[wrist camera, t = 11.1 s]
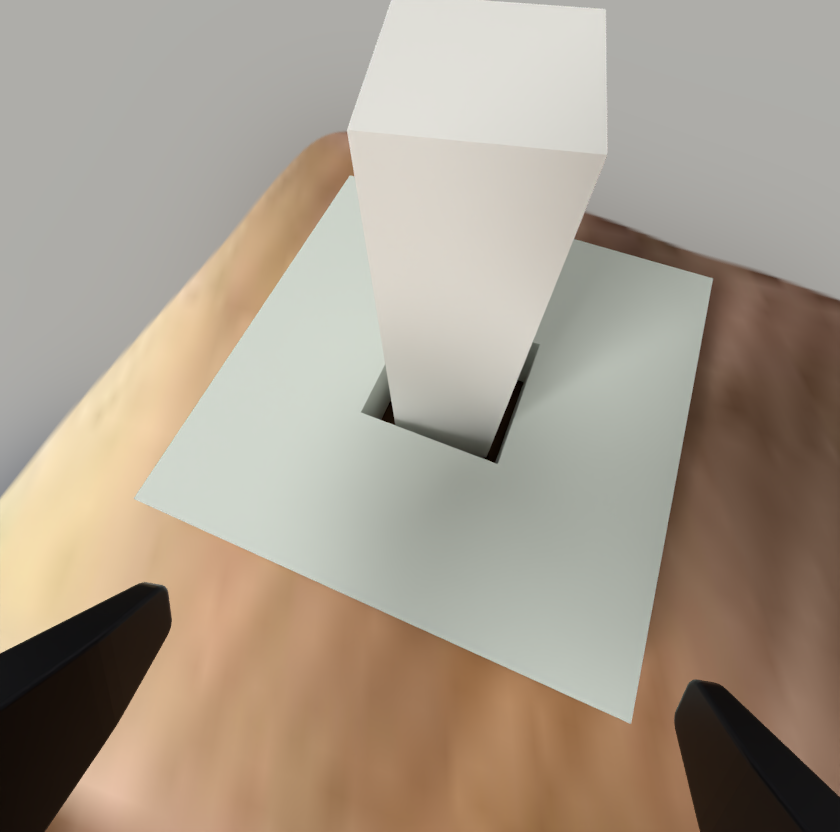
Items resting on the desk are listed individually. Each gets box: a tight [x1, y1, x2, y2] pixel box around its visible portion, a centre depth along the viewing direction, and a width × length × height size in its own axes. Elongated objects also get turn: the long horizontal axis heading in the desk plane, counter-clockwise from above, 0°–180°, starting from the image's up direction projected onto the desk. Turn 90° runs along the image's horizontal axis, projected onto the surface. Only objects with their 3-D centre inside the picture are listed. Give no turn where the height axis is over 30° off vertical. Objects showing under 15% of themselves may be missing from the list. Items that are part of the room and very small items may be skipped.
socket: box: [134, 176, 713, 724], centre depth 17 cm, size 16×16×3 cm
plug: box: [347, 0, 607, 458], centre depth 13 cm, size 4×4×13 cm
